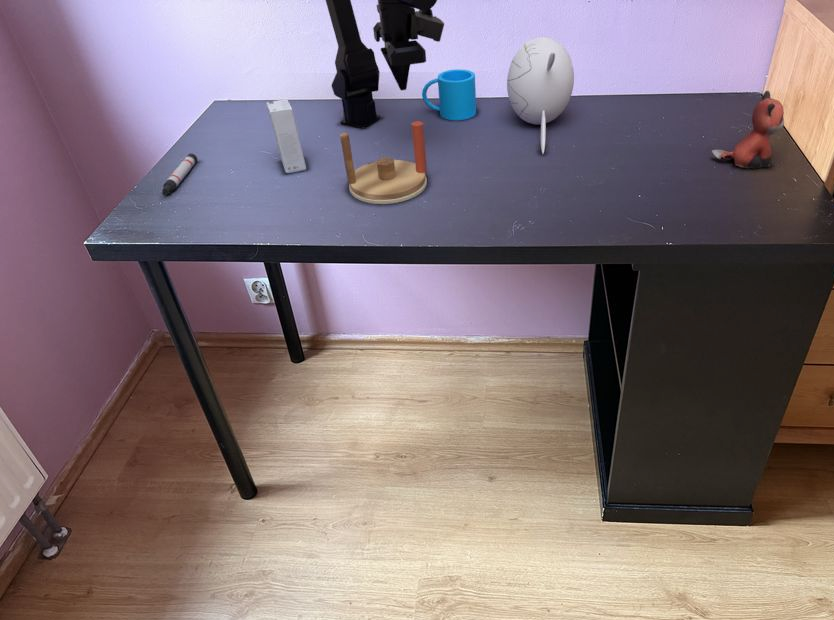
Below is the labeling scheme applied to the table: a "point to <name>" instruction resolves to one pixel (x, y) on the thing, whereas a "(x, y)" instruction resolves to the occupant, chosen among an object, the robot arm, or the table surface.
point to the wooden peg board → (387, 171)
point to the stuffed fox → (757, 136)
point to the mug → (454, 94)
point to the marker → (179, 174)
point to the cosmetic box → (286, 135)
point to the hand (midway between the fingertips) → (403, 89)
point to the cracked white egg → (540, 82)
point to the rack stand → (389, 201)
